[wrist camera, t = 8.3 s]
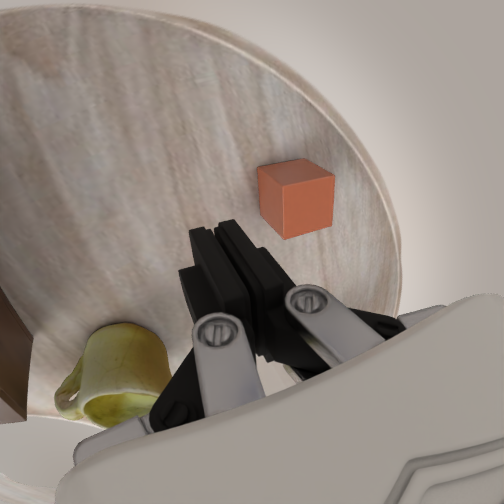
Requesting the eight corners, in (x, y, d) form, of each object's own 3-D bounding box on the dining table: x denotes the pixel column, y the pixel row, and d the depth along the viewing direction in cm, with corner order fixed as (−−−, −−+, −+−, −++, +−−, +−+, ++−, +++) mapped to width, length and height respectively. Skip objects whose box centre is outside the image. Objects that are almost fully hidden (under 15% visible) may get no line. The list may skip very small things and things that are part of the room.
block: (256, 166, 25) (282, 186, 21) (304, 157, 26) (335, 175, 22) (260, 215, 27) (283, 240, 24) (304, 203, 28) (332, 226, 25)
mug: (181, 313, 27) (183, 424, 21) (173, 356, 34) (175, 438, 28) (51, 299, 23) (32, 405, 17) (73, 345, 31) (65, 427, 24)
